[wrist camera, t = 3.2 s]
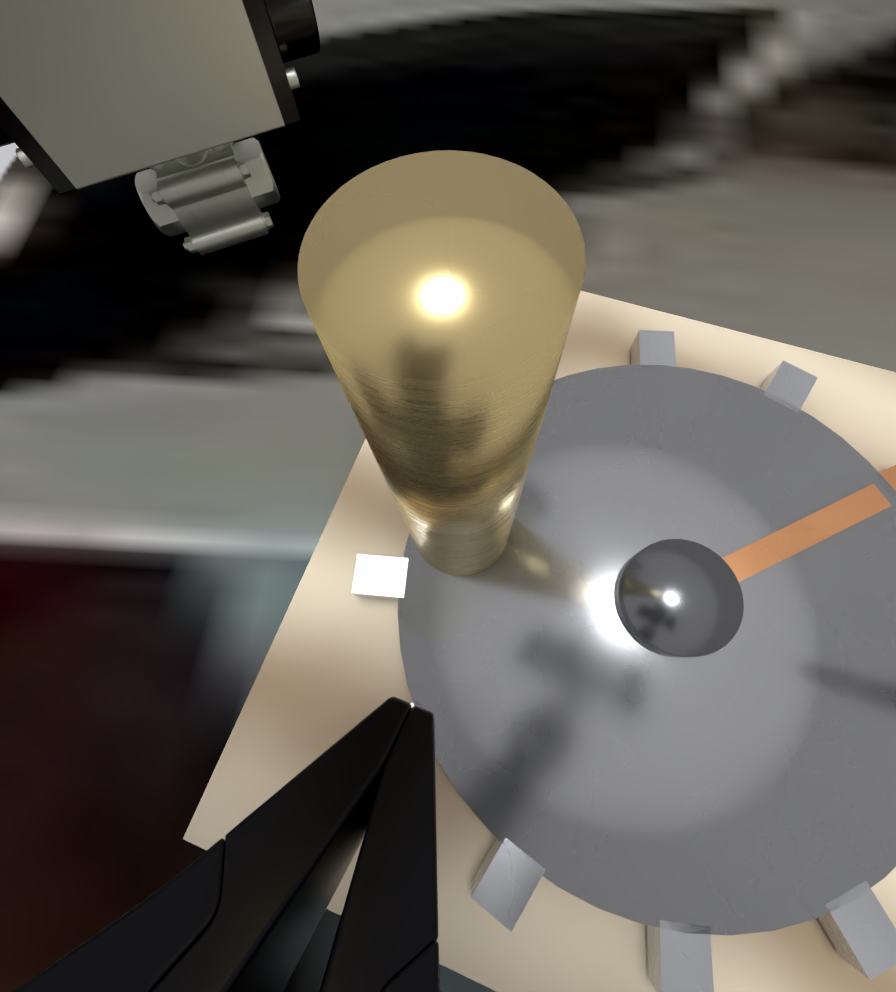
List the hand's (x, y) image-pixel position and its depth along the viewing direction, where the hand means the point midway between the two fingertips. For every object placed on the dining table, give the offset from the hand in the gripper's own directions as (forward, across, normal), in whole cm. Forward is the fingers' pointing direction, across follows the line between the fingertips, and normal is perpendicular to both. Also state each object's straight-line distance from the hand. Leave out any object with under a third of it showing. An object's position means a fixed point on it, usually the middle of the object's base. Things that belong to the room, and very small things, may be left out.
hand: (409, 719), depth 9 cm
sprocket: (+8, -6, +1) cm, 10 cm away
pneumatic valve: (+17, +16, -6) cm, 24 cm away
